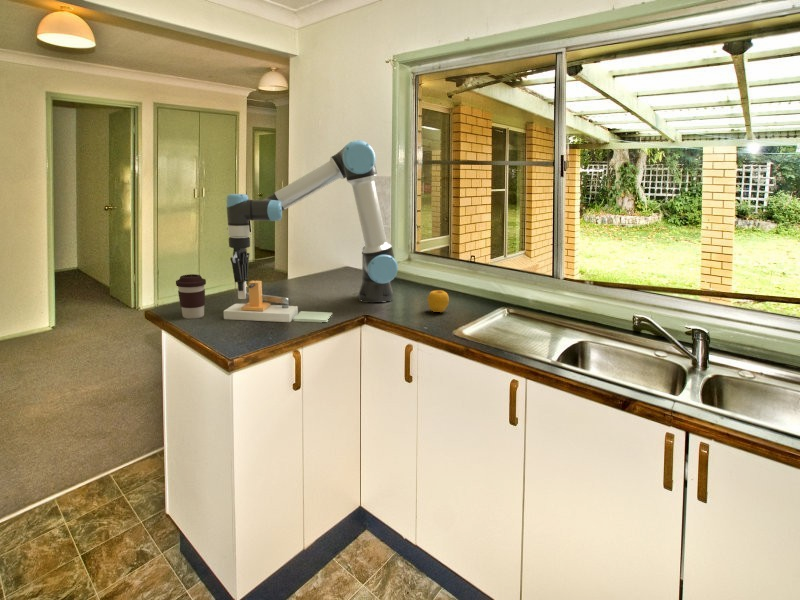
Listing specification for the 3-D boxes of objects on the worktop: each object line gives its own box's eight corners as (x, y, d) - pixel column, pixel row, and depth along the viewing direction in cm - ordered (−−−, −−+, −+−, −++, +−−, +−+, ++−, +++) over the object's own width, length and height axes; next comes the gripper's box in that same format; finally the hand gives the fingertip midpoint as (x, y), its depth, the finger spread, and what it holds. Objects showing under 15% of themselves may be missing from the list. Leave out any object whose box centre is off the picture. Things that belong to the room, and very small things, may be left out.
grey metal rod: (290, 303, 187) (290, 297, 186) (286, 304, 184) (285, 299, 184) (245, 296, 194) (244, 291, 194) (240, 297, 192) (240, 292, 191)
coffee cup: (184, 312, 187) (180, 273, 183) (211, 312, 188) (208, 273, 184) (174, 320, 177) (171, 278, 174) (203, 320, 178) (200, 278, 174)
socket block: (297, 313, 189) (297, 302, 188) (289, 322, 179) (289, 310, 178) (235, 311, 191) (235, 300, 190) (224, 319, 180) (223, 307, 179)
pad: (332, 315, 189) (332, 312, 189) (326, 322, 179) (326, 320, 179) (300, 313, 190) (300, 311, 189) (293, 321, 180) (293, 318, 180)
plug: (270, 313, 188) (269, 279, 185) (262, 320, 179) (260, 285, 176) (249, 312, 189) (248, 279, 186) (240, 319, 180) (238, 284, 177)
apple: (442, 316, 191) (443, 293, 189) (422, 312, 196) (423, 290, 194) (451, 311, 198) (453, 289, 196) (433, 308, 203) (433, 287, 201)
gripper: (236, 234, 192) (239, 294, 198) (222, 238, 179) (225, 302, 185) (255, 235, 191) (257, 295, 197) (242, 239, 179) (245, 303, 185)
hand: (242, 298), depth 191 cm, fingers closed
